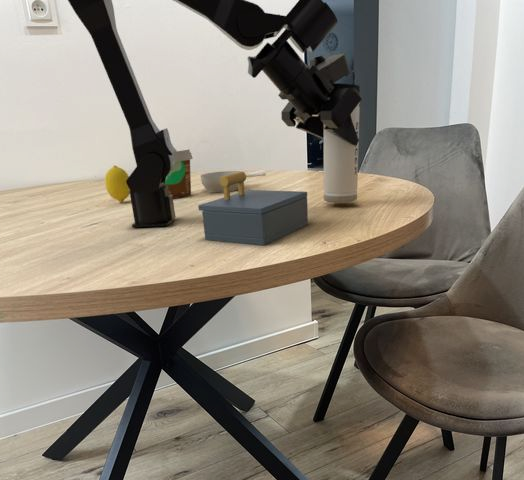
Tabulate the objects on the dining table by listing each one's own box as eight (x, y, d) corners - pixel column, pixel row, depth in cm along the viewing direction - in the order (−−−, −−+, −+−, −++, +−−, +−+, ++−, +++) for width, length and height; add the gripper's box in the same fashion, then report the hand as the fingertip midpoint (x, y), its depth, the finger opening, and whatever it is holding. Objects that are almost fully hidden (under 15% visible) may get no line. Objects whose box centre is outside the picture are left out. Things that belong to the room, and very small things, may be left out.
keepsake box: (205, 239, 79) (201, 211, 77) (253, 220, 90) (251, 194, 88) (263, 245, 74) (261, 214, 72) (308, 224, 84) (307, 197, 82)
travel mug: (316, 199, 99) (316, 82, 90) (348, 196, 100) (350, 81, 92) (330, 204, 93) (330, 80, 85) (362, 200, 95) (366, 79, 86)
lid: (198, 210, 78) (195, 180, 76) (248, 194, 88) (246, 167, 86) (261, 214, 72) (259, 181, 70) (307, 196, 82) (306, 168, 80)
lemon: (127, 204, 114) (120, 166, 110) (104, 205, 115) (97, 167, 112) (137, 199, 119) (131, 163, 115) (115, 200, 120) (109, 164, 116)
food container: (137, 200, 117) (129, 154, 113) (148, 196, 123) (141, 151, 118) (187, 199, 114) (181, 151, 110) (196, 194, 120) (191, 149, 115)
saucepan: (221, 184, 132) (219, 169, 130) (278, 187, 122) (278, 170, 120) (192, 191, 124) (190, 175, 122) (252, 195, 114) (250, 177, 113)
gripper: (353, 26, 76) (407, 105, 85) (294, 42, 91) (345, 106, 100) (307, 88, 77) (366, 159, 85) (256, 93, 92) (310, 153, 101)
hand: (346, 142), depth 93 cm, fingers closed on travel mug, 6 cm apart
